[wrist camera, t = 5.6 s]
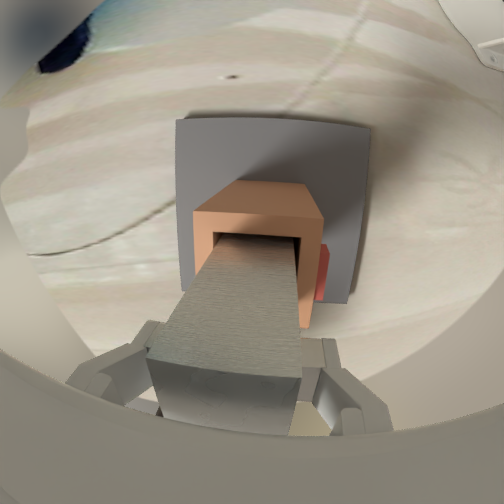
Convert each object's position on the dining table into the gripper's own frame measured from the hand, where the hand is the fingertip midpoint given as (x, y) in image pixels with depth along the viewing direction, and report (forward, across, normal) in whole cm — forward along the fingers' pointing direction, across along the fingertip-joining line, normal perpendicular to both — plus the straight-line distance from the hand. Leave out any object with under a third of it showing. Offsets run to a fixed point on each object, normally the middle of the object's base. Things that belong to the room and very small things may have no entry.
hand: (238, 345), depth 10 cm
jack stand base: (+22, 0, 0) cm, 22 cm away
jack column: (+17, 0, 0) cm, 17 cm away
